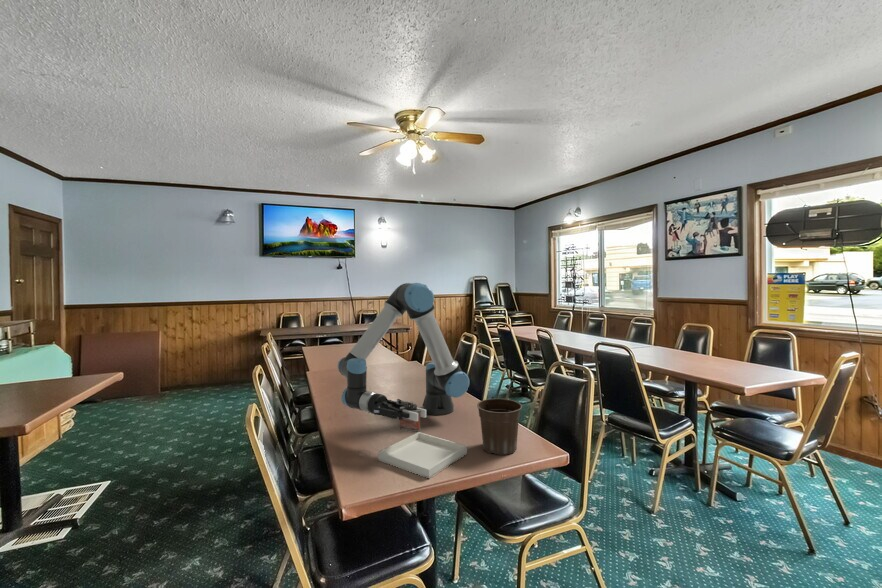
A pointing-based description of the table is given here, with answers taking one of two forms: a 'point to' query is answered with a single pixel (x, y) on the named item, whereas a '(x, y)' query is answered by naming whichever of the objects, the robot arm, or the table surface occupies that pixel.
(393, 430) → the table surface
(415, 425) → the lighter
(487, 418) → the plant pot
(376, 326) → the robot arm
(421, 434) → the tray
